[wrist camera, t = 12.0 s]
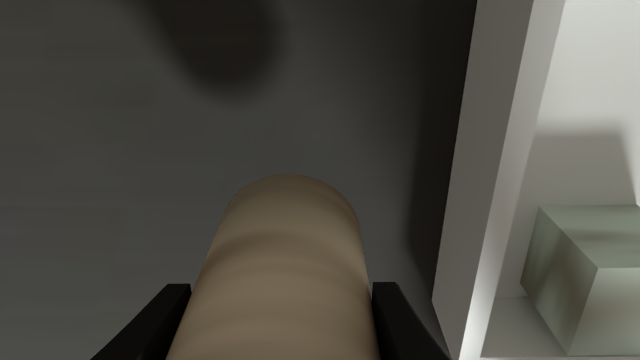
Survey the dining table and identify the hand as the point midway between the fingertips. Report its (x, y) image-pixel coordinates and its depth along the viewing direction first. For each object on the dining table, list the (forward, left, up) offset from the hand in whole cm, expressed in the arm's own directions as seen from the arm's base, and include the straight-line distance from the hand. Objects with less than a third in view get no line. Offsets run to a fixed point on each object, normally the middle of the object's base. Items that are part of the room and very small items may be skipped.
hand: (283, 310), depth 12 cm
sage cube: (-5, -15, -10) cm, 18 cm away
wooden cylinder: (0, 0, -4) cm, 4 cm away
